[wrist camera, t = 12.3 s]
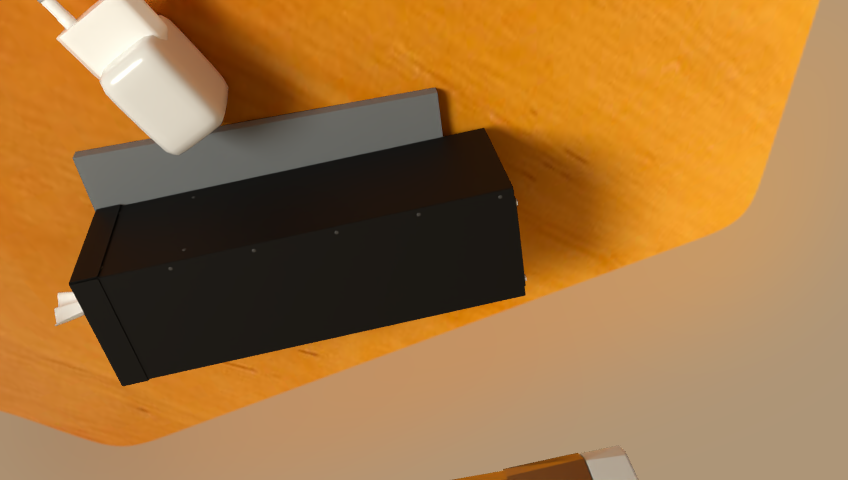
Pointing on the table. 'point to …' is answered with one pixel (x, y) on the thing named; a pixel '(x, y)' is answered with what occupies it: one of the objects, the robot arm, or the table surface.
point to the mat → (258, 148)
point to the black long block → (298, 256)
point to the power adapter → (147, 70)
